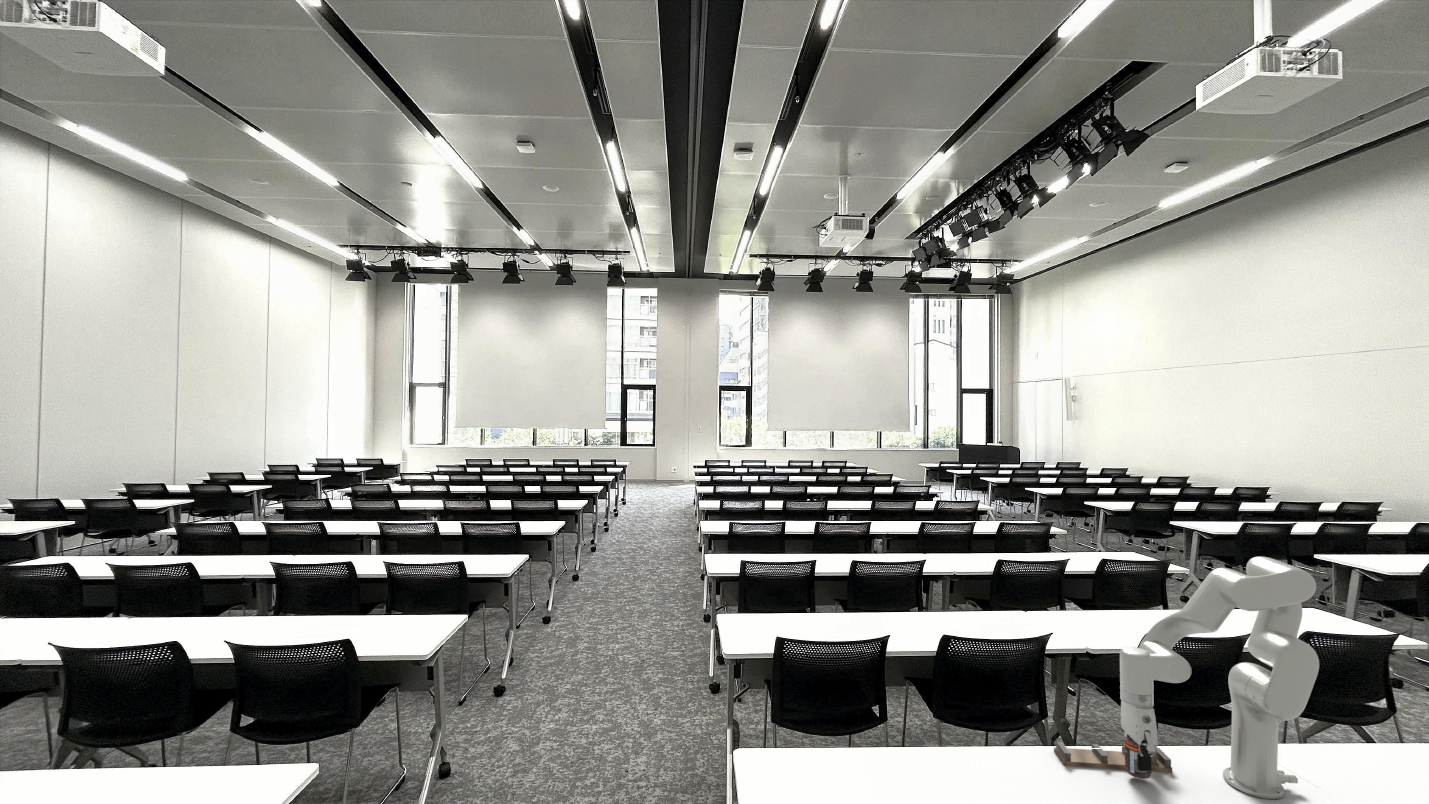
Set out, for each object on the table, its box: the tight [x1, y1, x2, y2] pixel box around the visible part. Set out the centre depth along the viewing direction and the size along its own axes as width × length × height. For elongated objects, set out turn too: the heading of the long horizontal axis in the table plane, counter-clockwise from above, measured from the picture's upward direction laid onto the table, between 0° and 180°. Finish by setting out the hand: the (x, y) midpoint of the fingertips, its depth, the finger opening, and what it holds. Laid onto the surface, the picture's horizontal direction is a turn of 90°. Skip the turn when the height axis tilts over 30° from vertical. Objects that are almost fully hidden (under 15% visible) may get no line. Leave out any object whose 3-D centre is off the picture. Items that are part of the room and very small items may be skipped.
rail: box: [1053, 741, 1173, 773], centre depth 186 cm, size 28×7×10 cm, turn 84°
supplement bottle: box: [1123, 735, 1152, 780], centre depth 177 cm, size 6×6×11 cm
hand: (1137, 762), depth 178 cm, fingers closed on supplement bottle, 6 cm apart
